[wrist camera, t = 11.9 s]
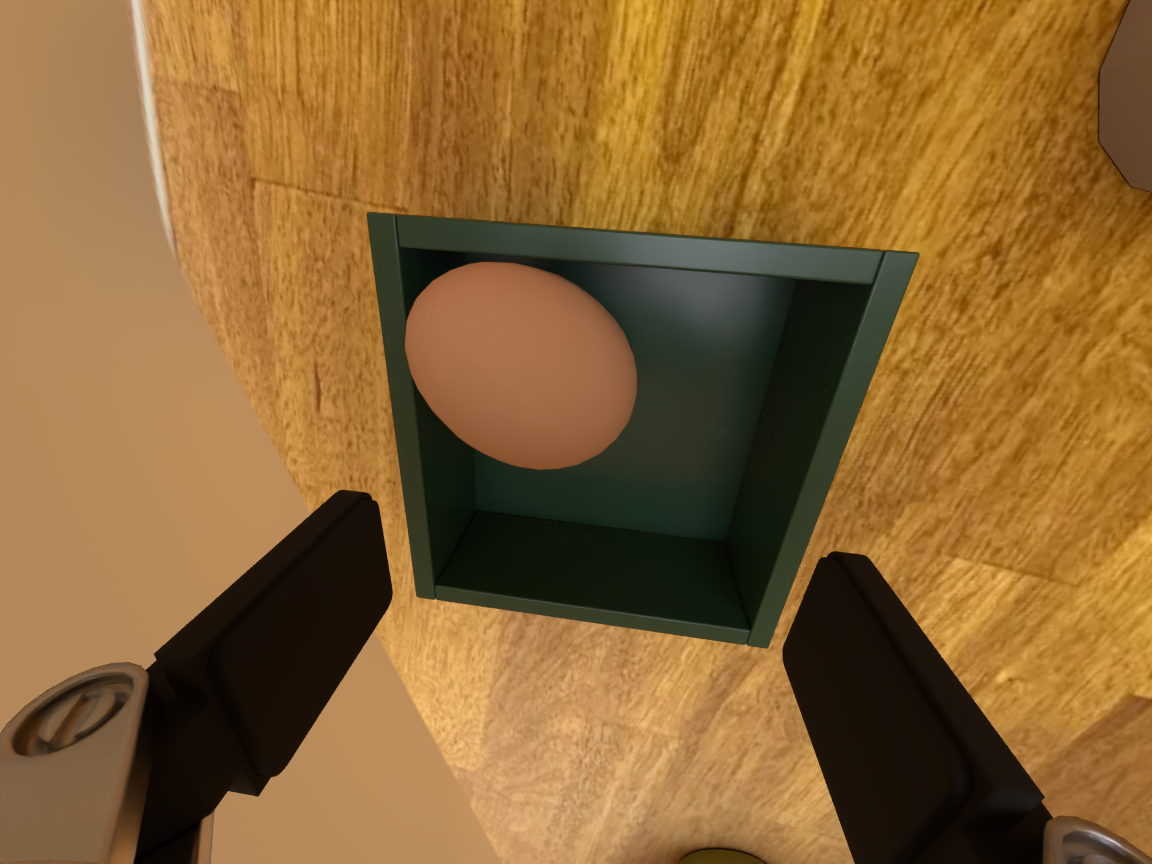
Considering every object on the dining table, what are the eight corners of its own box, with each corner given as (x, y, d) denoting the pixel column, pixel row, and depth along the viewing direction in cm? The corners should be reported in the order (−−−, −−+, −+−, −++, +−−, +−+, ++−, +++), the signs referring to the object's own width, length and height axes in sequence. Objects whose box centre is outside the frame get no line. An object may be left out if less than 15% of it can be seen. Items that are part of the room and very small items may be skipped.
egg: (627, 310, 17) (482, 144, 10) (697, 432, 14) (569, 326, 7) (519, 390, 19) (333, 299, 12) (563, 509, 16) (361, 484, 9)
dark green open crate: (465, 513, 22) (415, 597, 17) (449, 218, 16) (365, 211, 11) (735, 548, 21) (768, 649, 16) (823, 246, 15) (921, 252, 10)
